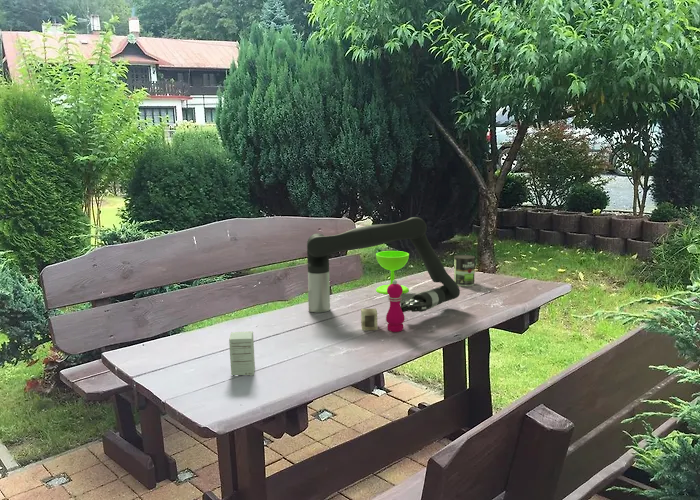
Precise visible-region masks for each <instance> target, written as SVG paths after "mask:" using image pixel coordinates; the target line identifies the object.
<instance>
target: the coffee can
mask: <svg viewBox="0 0 700 500" xmlns="http://www.w3.org/2000/svg"><path fill="white" fill-rule="evenodd" d="M453 258H454V263H453V267H454V268H453V270H454V271H453V280H454V281H455V282H456V284H457V285H458V287H473V286H475V270H476V269H475V268H476V267H475V266H476V256H475V255H472V254H456V255H454V257H453Z"/></svg>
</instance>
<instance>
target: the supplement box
mask: <svg viewBox="0 0 700 500" xmlns="http://www.w3.org/2000/svg"><path fill="white" fill-rule="evenodd" d="M254 341H255V340H254V332H253V331H252V330H251V331H231V333H230V334H229V340H228V344H229V358H230V376H231V375H250V376H254V375H255V369H256V365H255V364H256V362H255V346H254Z"/></svg>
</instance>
